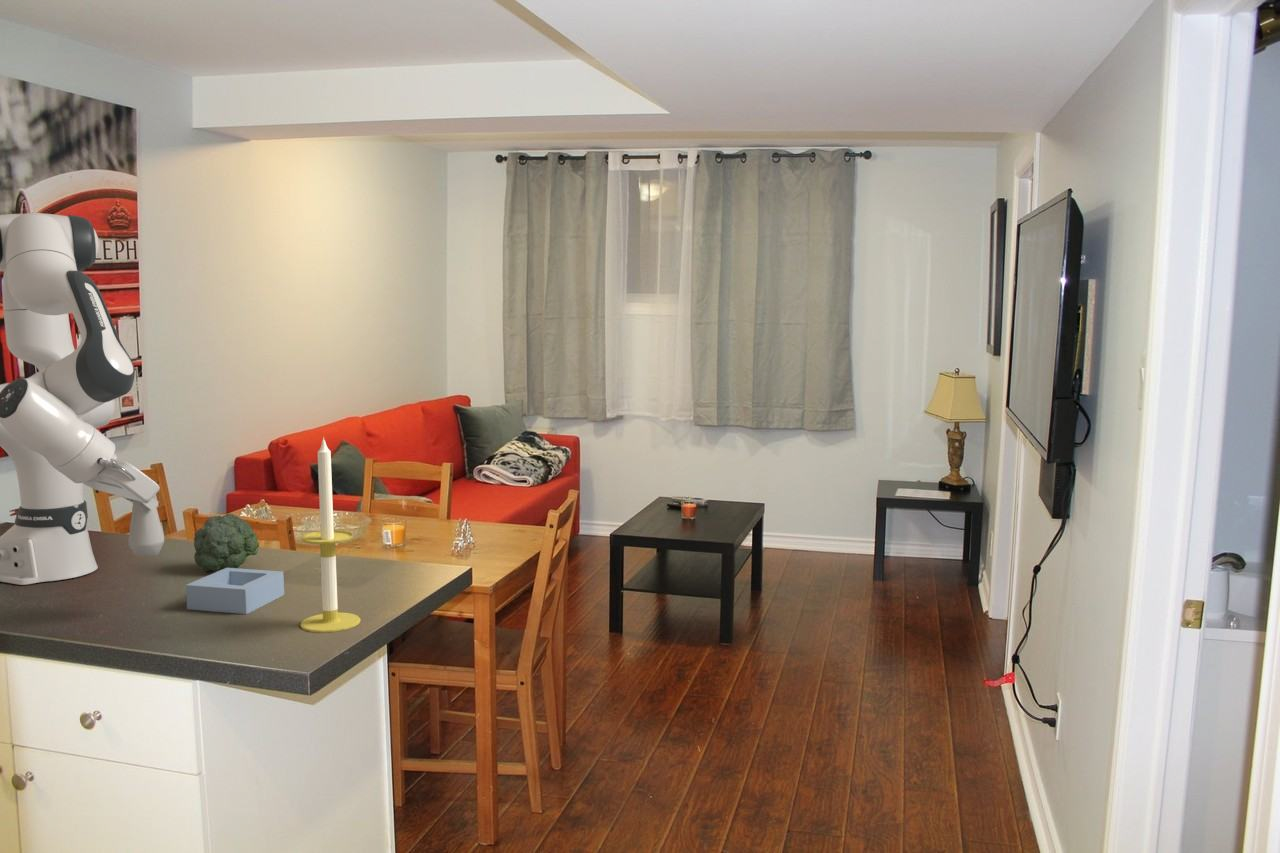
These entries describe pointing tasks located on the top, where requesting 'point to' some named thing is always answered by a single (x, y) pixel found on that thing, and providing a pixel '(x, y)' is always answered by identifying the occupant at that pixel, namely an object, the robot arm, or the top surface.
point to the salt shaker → (145, 531)
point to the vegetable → (224, 543)
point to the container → (235, 590)
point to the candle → (327, 555)
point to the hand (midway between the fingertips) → (148, 504)
